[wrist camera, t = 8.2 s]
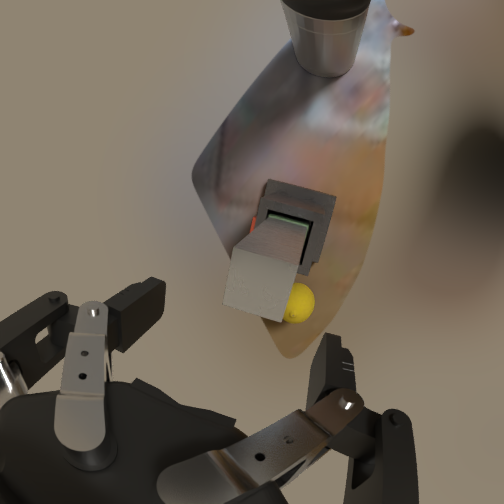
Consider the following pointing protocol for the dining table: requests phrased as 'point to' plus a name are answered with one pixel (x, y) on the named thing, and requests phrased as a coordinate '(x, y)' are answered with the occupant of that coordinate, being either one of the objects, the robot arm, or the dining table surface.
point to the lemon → (299, 304)
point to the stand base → (299, 215)
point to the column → (266, 266)
